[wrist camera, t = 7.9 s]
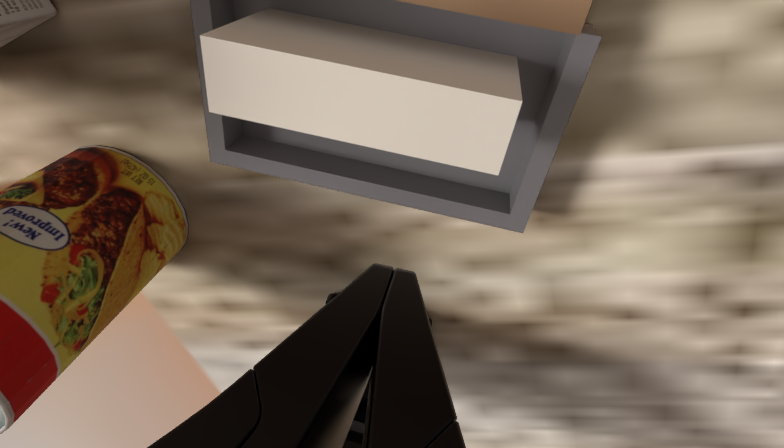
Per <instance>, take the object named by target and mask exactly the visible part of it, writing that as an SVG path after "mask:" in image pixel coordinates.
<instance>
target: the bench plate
mask: <svg viewBox="0 0 784 448" xmlns="http://www.w3.org/2000/svg"><path fill="white" fill-rule="evenodd" d="M396 1H401V2H406V3H412V4H417V5H422V6H427V7H433V8H438V9H443V10H448V11H454V12H459V13H464V14H470V15H475V16H480V17H485V18H491V19H496V20H501V21H506V22H512V23H517V24H522V25H527V26H533V27H538V28H543V29H549V30H554V31H559V32H564V33H570V34H575V35H580V33H581V31H582V28H583V25H584V22H585V20H586V17H587V14H588V12H589V9H590V6H591V4H592V1H593V0H396Z"/></svg>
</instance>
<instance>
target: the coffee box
mask: <svg viewBox="0 0 784 448" xmlns="http://www.w3.org/2000/svg"><path fill="white" fill-rule="evenodd" d="M55 15H56V10H55V8H54V6H53V5H52V3H51V2H50V0H0V48H1V47H2V46H4V45H6V44H7V43H9V42H11V41H12V40H14V39H16V38H17V37H19V36H21V35H22V34H24V33H26V32H27V31H29V30H31V29H33V28H34V27H36V26H38V25H39V24H41V23H43V22H44V21H46V20H48V19H50V18H52V17H53V16H55Z"/></svg>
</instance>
